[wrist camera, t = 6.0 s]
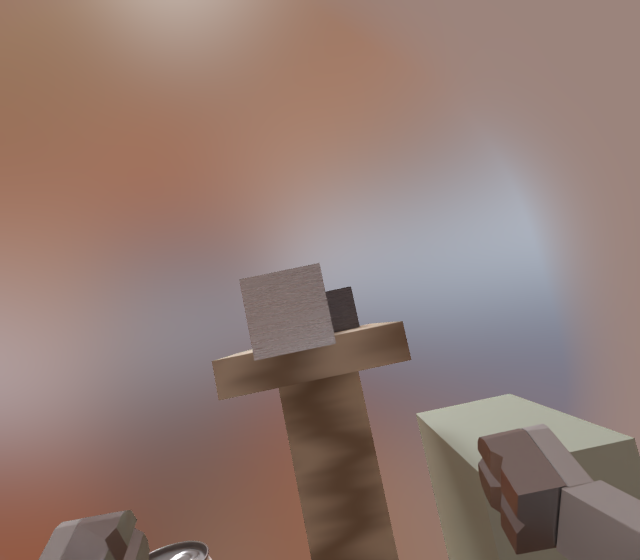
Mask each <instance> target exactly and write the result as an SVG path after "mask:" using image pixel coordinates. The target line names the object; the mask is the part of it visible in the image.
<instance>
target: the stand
mask: <svg viewBox="0 0 640 560" xmlns="http://www.w3.org/2000/svg"><path fill="white" fill-rule="evenodd" d="M334 336H335V341H336V344H332V345H327V346H322V347H317V348H313V349H308V350H303V351H298V352H294V353H289V354H284V355H279V356H275V357H270V358H265V359H260V360H255V361H254V355H253V350H252V349H250V350H247V351H244V352H240V353H237V354H234V355H231V356H227V357H224V358H221V359H218V360H214V361H212V364H213V370H214V375H215V382H216V386H217V393H218V398H219V400H223V399H228V398H233V397H237V396H242V395H247V394H252V393H256V392H261V391H266V390H271V389H275V388H279V393H280V398H281V403H282V408H283V413H284V419H285V424H286V429H287V434H288V440H289V445H290V450H291V455H292V460H293V466H294V471H295V476H296V481H297V486H298V491H299V497H300V502H301V507H302V513H303V518H304V523H305V528H306V533H307V539H308V544H309V549H310V554H311V559H312V560H399V559H398V555H397V550H396V545H395V541H394V536H393V531H392V527H391V522H390V517H389V512H388V508H387V503H386V499H385V494H384V489H383V484H382V480H381V475H380V470H379V466H378V461H377V456H376V452H375V447H374V443H373V438H372V433H371V428H370V424H369V419H368V415H367V409H366V405H365V400H364V396H363V391H362V387H361V381H360V377H359V372H358V371H360V370H365V369H370V368H375V367H380V366H384V365H389V364H393V363H399V362H403V361H408V360H411V356H410V352H409V348H408V343H407V339H406V335H405V330H404V326H403V322H402V321H400V322H386V323H373V324H367V325H362V326H360V327H358V328H354V329H349V330H344V331H339V332H335V333H334Z"/></svg>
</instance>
